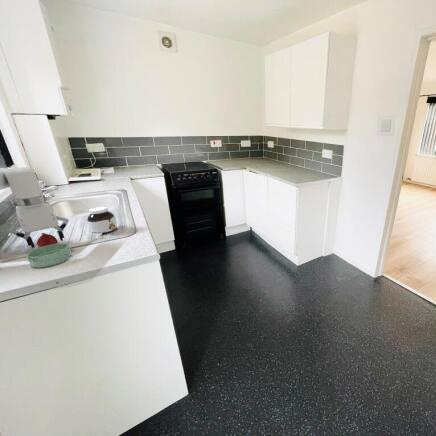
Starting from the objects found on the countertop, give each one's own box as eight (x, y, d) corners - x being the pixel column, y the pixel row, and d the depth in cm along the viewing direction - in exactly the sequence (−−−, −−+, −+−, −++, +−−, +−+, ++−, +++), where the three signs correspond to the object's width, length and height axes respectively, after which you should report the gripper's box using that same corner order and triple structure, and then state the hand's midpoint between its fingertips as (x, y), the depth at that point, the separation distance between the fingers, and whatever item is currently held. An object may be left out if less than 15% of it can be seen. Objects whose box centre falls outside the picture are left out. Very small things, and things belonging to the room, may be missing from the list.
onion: (58, 246, 103) (52, 228, 100) (61, 250, 99) (54, 232, 97) (39, 251, 99) (32, 233, 96) (42, 255, 95) (34, 236, 92)
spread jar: (100, 237, 111) (92, 212, 107) (82, 234, 114) (75, 210, 110) (124, 227, 122) (118, 205, 118) (107, 225, 125) (101, 203, 121)
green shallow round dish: (23, 270, 85) (17, 259, 83) (44, 255, 95) (40, 245, 94) (61, 266, 87) (57, 255, 86) (78, 251, 98) (74, 241, 96)
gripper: (61, 195, 100) (74, 234, 106) (-3, 204, 88) (16, 247, 94) (62, 198, 95) (77, 239, 101) (-5, 208, 83) (16, 254, 89)
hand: (47, 243), depth 98 cm, fingers open, 7 cm apart
